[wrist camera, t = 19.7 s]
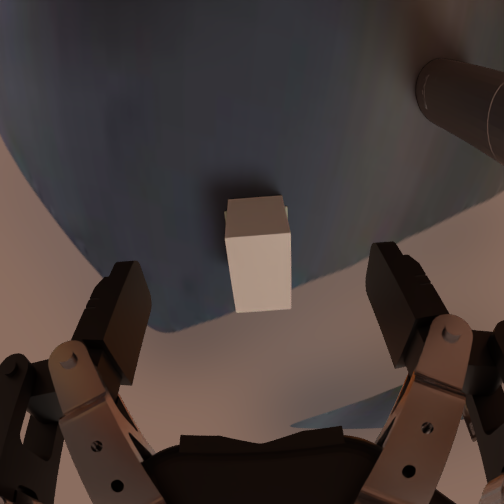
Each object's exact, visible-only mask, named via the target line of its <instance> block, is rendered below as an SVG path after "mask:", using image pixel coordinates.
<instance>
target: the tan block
mask: <svg viewBox="0 0 504 504" xmlns="http://www.w3.org/2000/svg"><path fill="white" fill-rule="evenodd" d="M225 244H226V250H227V257H228V263H229V270H230V276H231V283H232V289H233V295H234V301H235V308H236V313H241V312H255V311H268V310H282V309H291V232H290V228H289V224H288V219H287V215H286V211H285V206H284V202H283V198H282V195H280V196H266V197H253V198H241V199H229V200H228V207H227V217H226V229H225Z"/></svg>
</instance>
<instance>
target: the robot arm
mask: <svg viewBox="0 0 504 504" xmlns="http://www.w3.org/2000/svg"><path fill="white" fill-rule="evenodd" d="M416 97H417V101H418V105H419V107H420V109H421V111H422V113H423V114H424V116H425V117H426V118H427V119H428V120H429V121H431V122H432V123H434V124H435V125H437V126H439V127H441V128H443V129H445V130H446V131H448V132H450V133H452V134H453V135H455V136H457V137H458V138H460V139H462V140H464V141H465V142H467V143H469V144H470V145H472V146H474V147H475V148H477V149H478V150H480V151H482V152H483V153H485V154H486V155H488V156H489V157H491V158H492V159H494V160H495V161H497V162H498V163H500V164H501V165H503V166H504V72H501V71H498V70H494V69H490V68H486V67H482V66H478V65H473V64H469V63H465V62H460V61H455V60H449V59H436V60H433V61H431V62H429V63H428V64H427V65H426V66H425V67H424V68H423V69H422V71H421V72H420V74H419V77H418V80H417V84H416ZM366 292H367V295H368V298H369V300H370V303H371V305H372V308H373V310H374V313H375V316H376V318H377V321H378V323H379V326H380V329H381V331H382V334H383V337H384V340H385V342H386V345H387V347H388V350H389V353H390V355H391V359H392V362H393V365H394V367H395V368H401V367H405V366H406V367H407V370H408V375H407V377H406V379H405V381H404V384H403V386H402V389H401V391H400V393H399V396H398V398H397V400H396V402H395V405H394V407H393V409H392V411H391V413H390V415H389V417H388V420H387V422H386V423H385V425H384V427H383V429H382V431H381V432H380V434H379V436H378V438H377V440H376V441H375V443H372V442H370V441H368V440H365V439H362V438H358V437H354V436H347V435H343V430H342V426H337V427H330V428H323V429H315V430H307V431H301V432H298V433H295V434H292V435H289V436H286V437H283V438H280V439H277V440H274V441H270V442H267V443H262V444H258V443H251V442H247V441H241V440H236V439H231V438H227V437H222V436H193V435H181V437H180V445H176V446H172V447H169V448H166V449H164V450H162V451H159V452H158V453H155V451H154V450H153V449H152V447H151V446H150V445H149V443H148V442H147V441H146V439H145V438H144V436H143V435H142V433H141V432H140V430H139V428H138V427H137V425H136V424H135V421H134V420H133V418H132V416H131V415H130V413H129V411H128V410H127V407H126V406H125V404H124V402H123V400H122V398H121V396H120V395H119V394H118V391H119V387H120V385H132V383H133V379H134V374H135V370H136V366H137V362H138V357H139V353H140V350H141V346H142V342H143V338H144V334H145V330H146V327H147V323H148V319H149V315H150V312H151V295H150V292H149V289H148V286H147V284H146V281H145V278H144V275H143V272H142V269H141V267H140V264H139V262H138V261H124V262H116V263H115V265H114V267H113V269H112V271H111V273H110V275H109V277H104V278H103V279H102V280H101V281H100V282H99V283H98V285H97V286H96V287H95V288H94V290H93V293H92V294H91V297H90V300H89V301H88V303H87V305H86V309H85V310H84V312H83V314H82V316H81V319H80V321H79V323H78V325H77V328H76V330H75V332H74V335H73V337H72V339H71V341H67V342H64V343H62V344H60V345H59V346H58V347H56V348H55V349H54V351H53V352H52V353H51V355H50V358H49V359H47V360H43V361H39V362H35V363H30V362H29V360H28V359H27V358H26V357H25V356H24V355H22V354H19V353H18V354H13V355H10V356H9V357H7V358H6V359H5V360H4V361H3V362H2V363H1V365H0V504H54V496H55V489H56V482H57V475H58V469H59V463H60V457H61V452H62V447H63V442H64V440H65V442H66V445H67V448H68V450H69V452H70V455H71V457H72V460H73V462H74V464H75V467H76V469H77V471H78V474H79V476H80V478H81V480H82V482H83V484H84V486H85V488H86V491H87V493H88V495H89V497H90V499H91V501H92V503H93V504H456V503H454V502H453V501H452V500H450V499H449V498H448V497H446V496H445V495H443V494H442V493H441V492H439V491H438V490H437V489H436V486H437V484H438V482H439V479H440V477H441V475H442V472H443V469H444V467H445V464H446V462H447V459H448V456H449V453H450V451H451V448H452V445H453V441H454V439H455V436H456V433H457V429H458V426H459V423H460V419H461V416H462V413H463V409H464V405H465V402H466V405H467V408H468V412H469V415H470V418H471V421H472V425H473V428H474V431H475V435H476V438H477V442H478V446H479V449H480V453H481V457H482V461H483V465H484V470H485V474H486V479H487V485H486V486H485V488H484V490H483V493H482V497H481V499H480V501H479V504H504V391H503V389H502V386H501V384H502V383H504V320H503V321H501V322H499V323H498V324H497V325H496V327H495V329H494V330H493V332H488V331H476V330H472V329H471V328H470V326H469V325H468V323H467V322H466V321H465V320H463V319H462V318H460V317H458V316H456V315H452V314H449V312H448V311H447V309H446V307H445V305H444V304H443V302H442V300H441V298H440V297H439V295H438V293H437V292H436V290H435V288H434V287H433V285H432V284H431V283H430V280H429V279H428V277H427V276H426V275H425V272H424V271H423V269H422V267H421V266H420V264H419V263H418V262H417V261H416V260H414V259H413V258H412V257H410V256H409V255H403V254H402V253H401V251H400V250H399V248H398V246H397V245H396V243H395V242H393V241H392V242H379V243H373V244H372V246H371V249H370V256H369V262H368V268H367V274H366ZM26 411H27V412H29V413H30V414H31V416H30V419H29V423H28V426H27V430H26V434H25V438H24V443H23V444H22V442H21V439H20V431H21V427H22V424H23V420H24V417H25V413H26Z"/></svg>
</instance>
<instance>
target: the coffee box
mask: <svg viewBox="0 0 504 504" xmlns="http://www.w3.org/2000/svg"><path fill="white" fill-rule="evenodd" d="M462 415H463V417H464V420H465V422H466V425H467V428H468V430H469V433H470V436H471V439H472V441H473V442H474V441H476V440H477V438H476V435H475V431H474V428H473V425H472V421H471V418H470V415H469V412H468V408H467V405H466V402H465V405H464V409H463V413H462Z"/></svg>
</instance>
